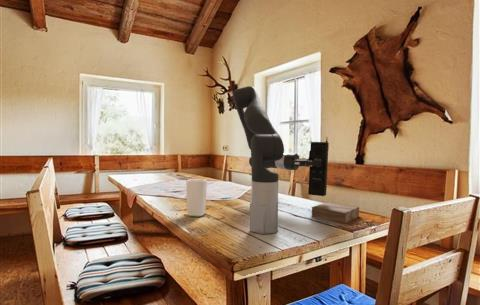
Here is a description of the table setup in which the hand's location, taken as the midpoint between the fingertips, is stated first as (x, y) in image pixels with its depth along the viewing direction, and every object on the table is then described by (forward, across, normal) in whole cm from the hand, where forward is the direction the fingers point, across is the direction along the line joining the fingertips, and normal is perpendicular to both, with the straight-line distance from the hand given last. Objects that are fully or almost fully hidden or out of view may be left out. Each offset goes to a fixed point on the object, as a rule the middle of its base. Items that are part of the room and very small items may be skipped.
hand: (322, 163), depth 125 cm
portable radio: (-3, +1, +14) cm, 14 cm away
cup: (-38, -36, +22) cm, 57 cm away
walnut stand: (+6, +1, +22) cm, 22 cm away
